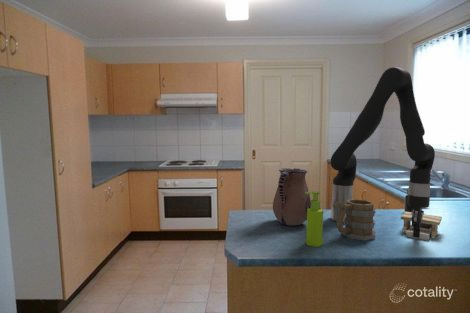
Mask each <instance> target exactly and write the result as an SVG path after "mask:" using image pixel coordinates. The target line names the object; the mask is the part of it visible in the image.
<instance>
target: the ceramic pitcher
mask: <svg viewBox="0 0 470 313" xmlns="http://www.w3.org/2000/svg"><path fill="white" fill-rule="evenodd" d="M278 171H279V172H280V175H279V178H278V184H277V185H278V186H277V189H276V192H275V194H274V198H273V202H272V211H273V214H274V217H275V218H276V219H277V221H278V222H279V223H280V224H282V225H286V226H291V227H293V226H295V227H296V226H299V225H303V224H304V223H305V222H307V209H309V208H311V194H308V195H307V194H305V192H310V191H309V187H308V184H307V181H306V180H307V179H306V175H307V173H308V170H305V169H301V168H293V169H292V168H287V167H285V168H279V169H278Z"/></svg>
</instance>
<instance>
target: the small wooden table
mask: <svg viewBox="0 0 470 313" xmlns="http://www.w3.org/2000/svg"><path fill="white" fill-rule="evenodd" d="M411 217H412V215H411V212H404V213H403V214H402V215H401V216H400V220H403V227H402V228H403V229H402V232H403V233H405V234H406V230H407V231H408V229H409V227H410V225H412V218H411ZM442 220H443V216H439V215H432V214H426V213H424V215H423V221H422V224H421V228H426V229H430V228H431V234H430V238H431V237H432V239H435V238H436V236H437V233H438V229H439V228H438V227H439V226H440V224H441V222H442Z"/></svg>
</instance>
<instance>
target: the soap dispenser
mask: <svg viewBox="0 0 470 313" xmlns="http://www.w3.org/2000/svg"><path fill="white" fill-rule="evenodd" d="M305 194H307V195H308V194H309V195H312V197H313V198H312V200H311V208H309V209H307V220H306V230H305V232H306V233H305V234H306V235H305V236H306V238H305V239H306V240H305V244H306V245H307V246H311V247H316V248H317V247H321V246H323V227H324V209H322V208H321V200H319V195H321V192H319V191H312V190H311V191H309V192H305Z"/></svg>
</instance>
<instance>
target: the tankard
mask: <svg viewBox="0 0 470 313" xmlns="http://www.w3.org/2000/svg"><path fill="white" fill-rule="evenodd" d="M374 205H375V203H374V201H370V200H367V199H358V198H357V199H355V198H353V199H352V200H347V204H346V205H344V204H342V203H340V202H338V201H337V202H336V203H334V204H333V207H334V208H335V209H336V208H337V207H340V212H339V217H338V219H337V221H336V228H337V231H338V233H340V234H341V235H342V236H344V237H346V238H349V239H351V240H358V241H373V240H376V233H377V232H376V231H375V230H373V229H374V228H375V225H376V222H375V220H374V217H375V214H376V213H377V212H376V208H374V207H375V206H374ZM345 213H346V217H345ZM344 217H345V219H344ZM343 219H344V222H343ZM343 225H344V226H343Z"/></svg>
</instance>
